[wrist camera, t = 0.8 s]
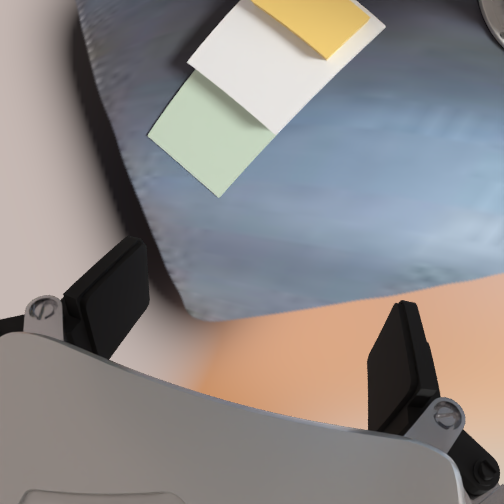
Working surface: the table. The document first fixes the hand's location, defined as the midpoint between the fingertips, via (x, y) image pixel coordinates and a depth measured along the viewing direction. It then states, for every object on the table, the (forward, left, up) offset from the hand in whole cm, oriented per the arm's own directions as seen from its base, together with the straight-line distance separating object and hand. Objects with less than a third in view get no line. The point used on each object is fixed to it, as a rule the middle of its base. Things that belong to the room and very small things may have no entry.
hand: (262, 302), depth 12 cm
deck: (-8, -10, -27) cm, 30 cm away
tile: (-12, -10, -23) cm, 28 cm away
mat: (+6, -10, -27) cm, 29 cm away
